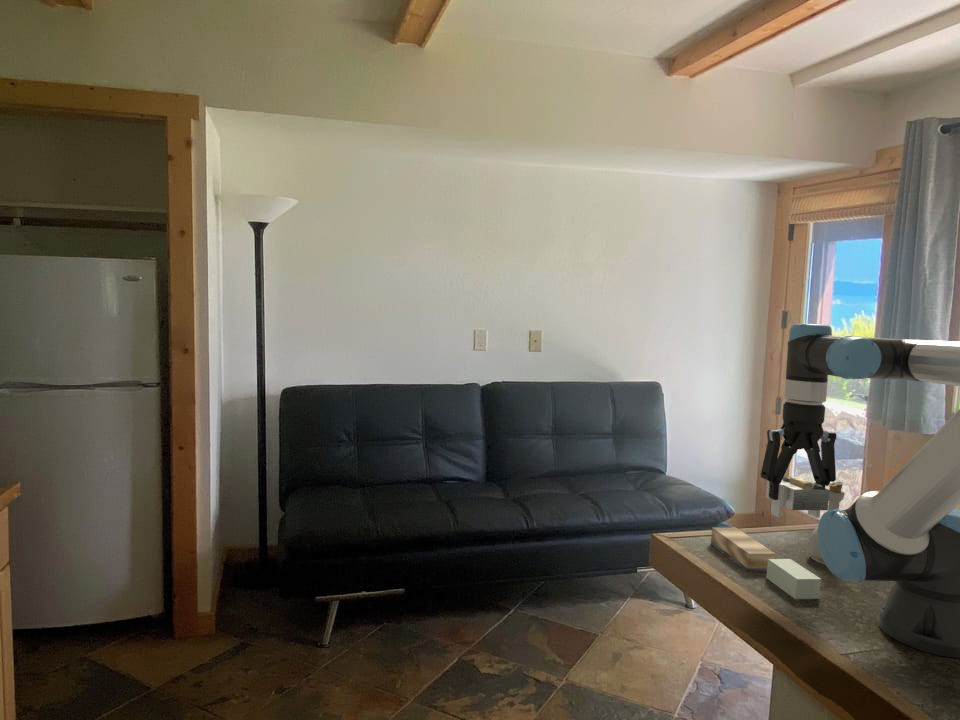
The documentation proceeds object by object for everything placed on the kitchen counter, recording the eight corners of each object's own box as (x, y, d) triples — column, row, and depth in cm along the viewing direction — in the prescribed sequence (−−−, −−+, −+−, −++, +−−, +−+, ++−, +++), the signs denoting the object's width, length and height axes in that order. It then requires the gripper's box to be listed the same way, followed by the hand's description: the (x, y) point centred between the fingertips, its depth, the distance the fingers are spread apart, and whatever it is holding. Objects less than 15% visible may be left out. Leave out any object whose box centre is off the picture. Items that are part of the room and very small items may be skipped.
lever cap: (827, 510, 134) (829, 484, 133) (792, 510, 132) (794, 484, 132) (799, 497, 142) (801, 473, 142) (765, 497, 141) (767, 473, 141)
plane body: (773, 571, 146) (775, 553, 146) (747, 571, 145) (749, 553, 145) (734, 544, 162) (736, 527, 161) (710, 544, 161) (712, 527, 160)
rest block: (818, 598, 134) (821, 578, 133) (795, 599, 133) (797, 579, 132) (788, 577, 143) (790, 558, 143) (766, 577, 143) (768, 559, 142)
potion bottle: (858, 569, 150) (866, 488, 149) (817, 566, 150) (825, 486, 149) (838, 554, 159) (846, 478, 157) (799, 552, 159) (807, 475, 157)
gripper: (838, 401, 141) (828, 510, 143) (746, 398, 138) (737, 510, 140) (864, 406, 134) (853, 521, 136) (767, 403, 131) (758, 521, 132)
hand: (795, 515), depth 138 cm, fingers closed on lever cap, 7 cm apart
